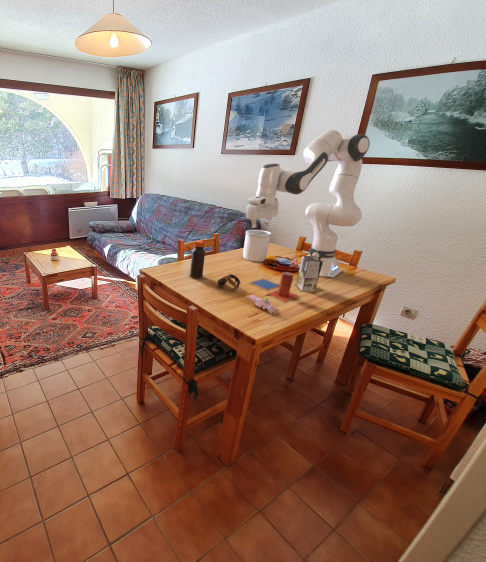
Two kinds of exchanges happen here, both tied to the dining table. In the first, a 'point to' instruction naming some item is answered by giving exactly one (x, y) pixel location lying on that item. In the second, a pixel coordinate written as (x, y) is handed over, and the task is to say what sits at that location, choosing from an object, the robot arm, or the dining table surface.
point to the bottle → (197, 260)
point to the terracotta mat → (283, 297)
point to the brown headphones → (229, 281)
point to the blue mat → (265, 284)
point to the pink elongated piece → (263, 304)
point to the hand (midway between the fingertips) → (260, 226)
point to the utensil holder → (256, 245)
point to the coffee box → (309, 273)
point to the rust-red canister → (285, 284)
